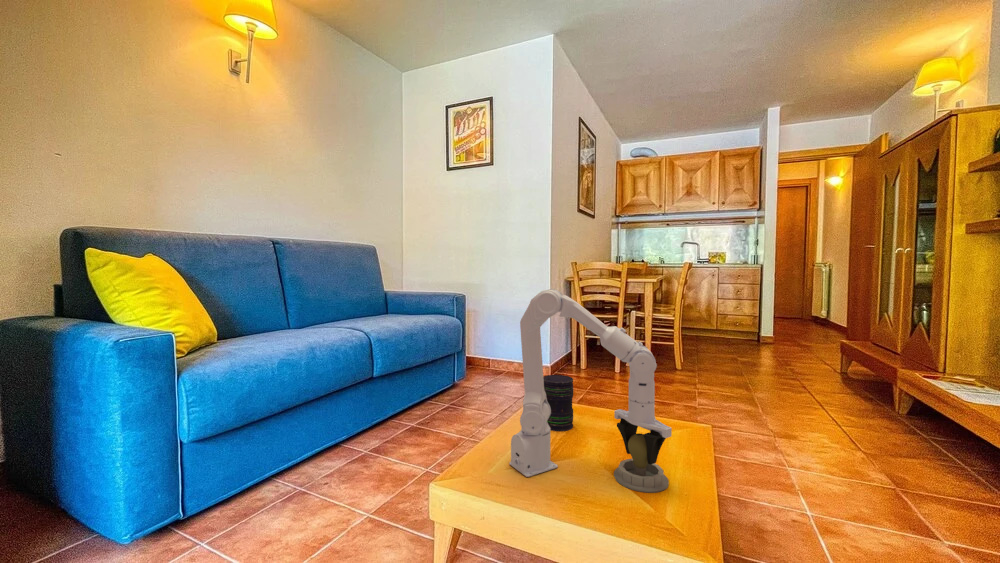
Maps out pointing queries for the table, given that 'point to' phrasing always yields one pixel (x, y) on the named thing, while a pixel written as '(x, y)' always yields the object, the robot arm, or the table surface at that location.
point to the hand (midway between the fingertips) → (641, 457)
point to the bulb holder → (641, 477)
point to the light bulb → (638, 453)
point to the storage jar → (559, 401)
